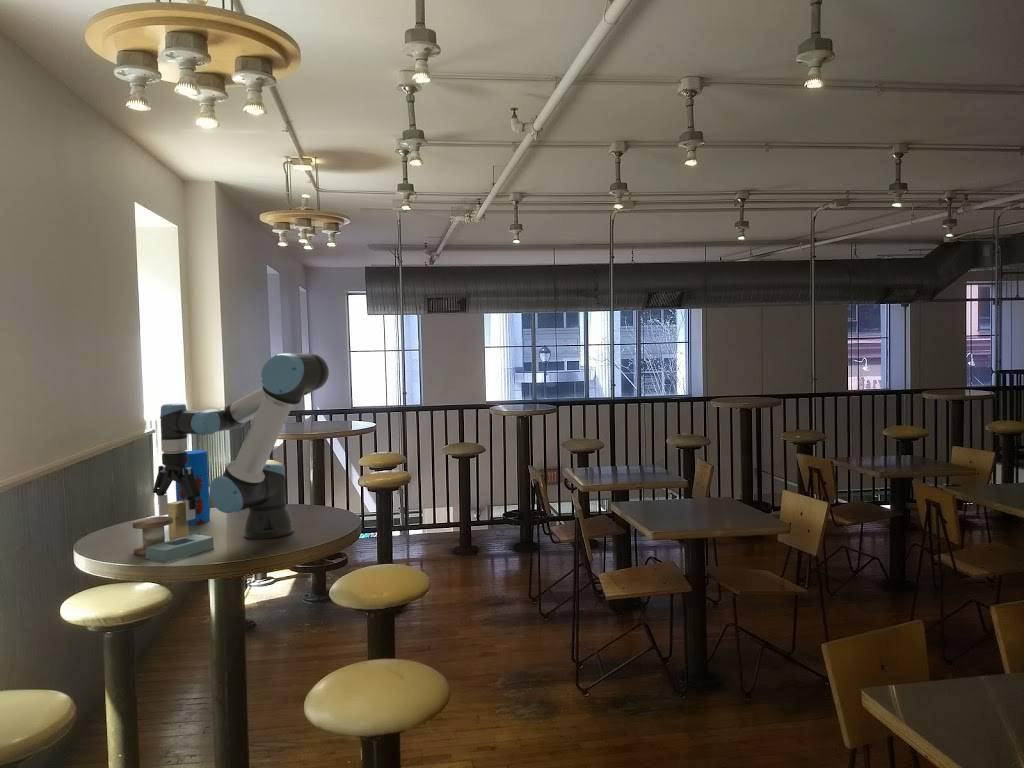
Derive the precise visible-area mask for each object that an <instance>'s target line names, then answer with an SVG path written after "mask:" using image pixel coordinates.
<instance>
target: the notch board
mask: <svg viewBox="0 0 1024 768" xmlns="http://www.w3.org/2000/svg"><path fill="white" fill-rule="evenodd" d="M214 544H215V543H214V536H210V535H209V536H208V535H201V534H196V533H193V534H189V536H185V537H181V538H178V539H174V540H170V541H169V540H167V541H166V540H165V542H163V543H159V544H155V545H152V546H148V547H146V556H145V559H146V560H149V559H150V560H149V561H154V562H160V563H165V562H166V563H169V562H173V561H176V560H179V559H183V558H185V557H190V556H193V555H196V554H200V553H203V552H206V551H209V550H213V549H215V548H214V547H215V545H214Z"/></svg>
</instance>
